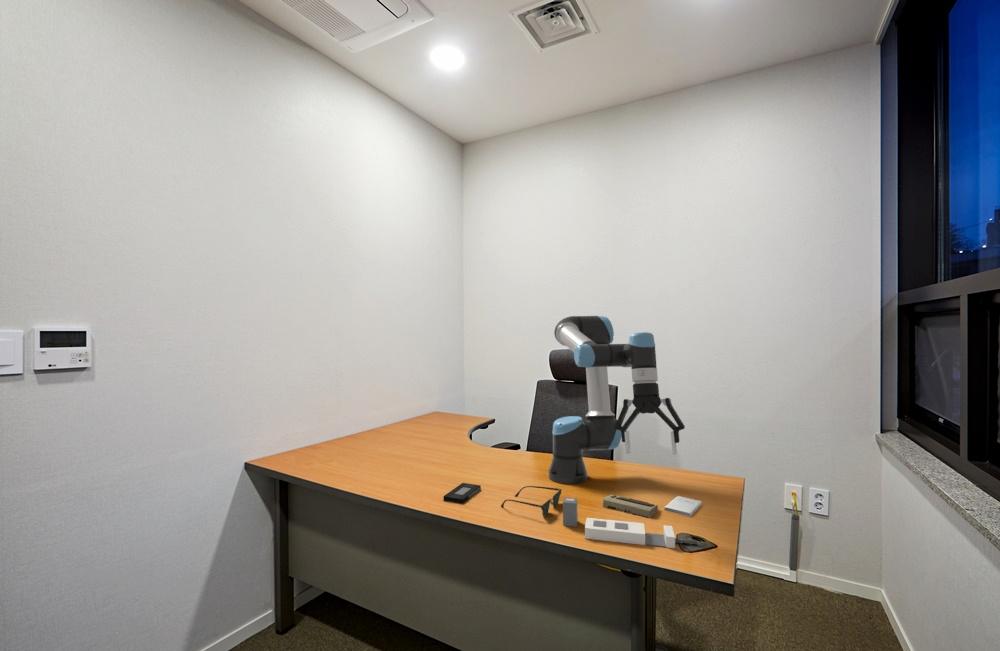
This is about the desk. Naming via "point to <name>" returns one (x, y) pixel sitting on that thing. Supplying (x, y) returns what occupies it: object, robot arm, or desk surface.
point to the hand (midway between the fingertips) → (651, 454)
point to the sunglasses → (546, 505)
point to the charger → (570, 512)
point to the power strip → (630, 533)
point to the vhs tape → (462, 493)
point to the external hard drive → (683, 506)
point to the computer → (630, 506)
